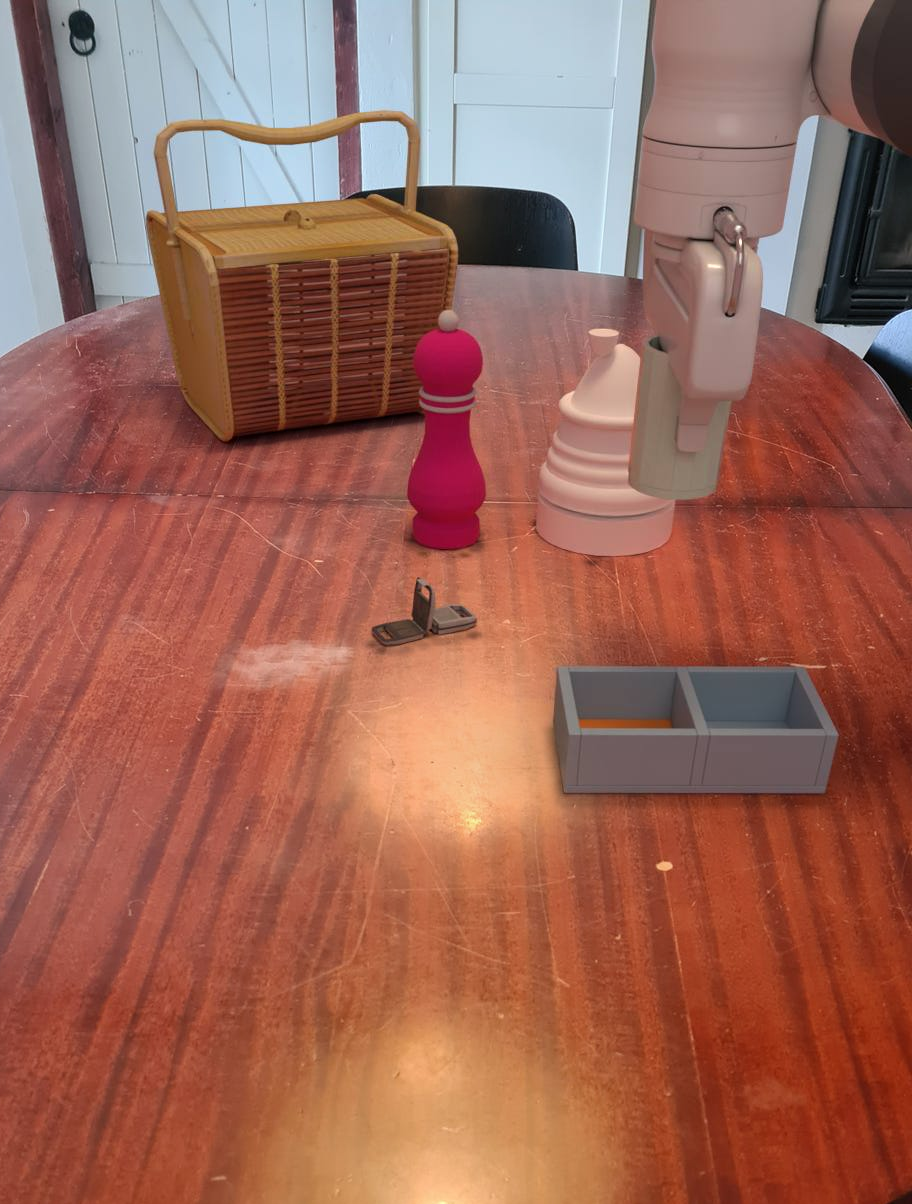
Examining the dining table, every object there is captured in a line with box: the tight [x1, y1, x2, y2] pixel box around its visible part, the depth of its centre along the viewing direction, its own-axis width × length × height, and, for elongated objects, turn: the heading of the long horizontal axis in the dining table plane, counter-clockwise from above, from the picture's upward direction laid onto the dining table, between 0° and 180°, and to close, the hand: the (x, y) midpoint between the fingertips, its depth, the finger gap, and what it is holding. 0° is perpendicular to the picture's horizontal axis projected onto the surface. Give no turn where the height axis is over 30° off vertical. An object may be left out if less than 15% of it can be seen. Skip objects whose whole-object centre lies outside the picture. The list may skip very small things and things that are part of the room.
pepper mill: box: [406, 309, 487, 550], centre depth 110 cm, size 7×7×20 cm
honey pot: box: [535, 328, 676, 557], centre depth 112 cm, size 13×13×18 cm
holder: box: [552, 665, 840, 794], centre depth 84 cm, size 17×9×5 cm, turn 90°
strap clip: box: [371, 576, 478, 645], centre depth 99 cm, size 8×3×4 cm, turn 116°
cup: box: [628, 334, 732, 501], centre depth 81 cm, size 6×6×9 cm
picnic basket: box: [145, 109, 459, 443], centre depth 136 cm, size 29×26×30 cm
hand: (679, 429), depth 81 cm, fingers closed on cup, 6 cm apart
